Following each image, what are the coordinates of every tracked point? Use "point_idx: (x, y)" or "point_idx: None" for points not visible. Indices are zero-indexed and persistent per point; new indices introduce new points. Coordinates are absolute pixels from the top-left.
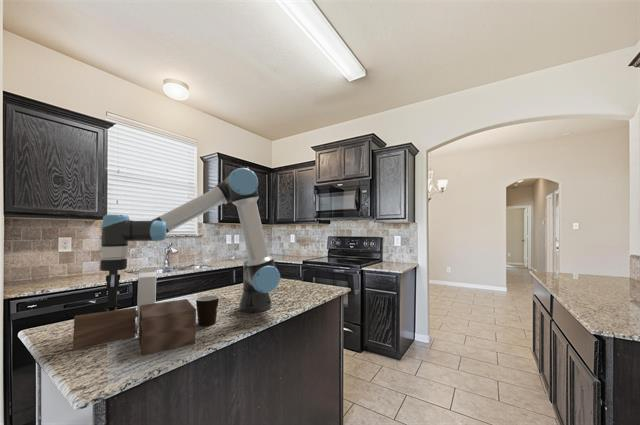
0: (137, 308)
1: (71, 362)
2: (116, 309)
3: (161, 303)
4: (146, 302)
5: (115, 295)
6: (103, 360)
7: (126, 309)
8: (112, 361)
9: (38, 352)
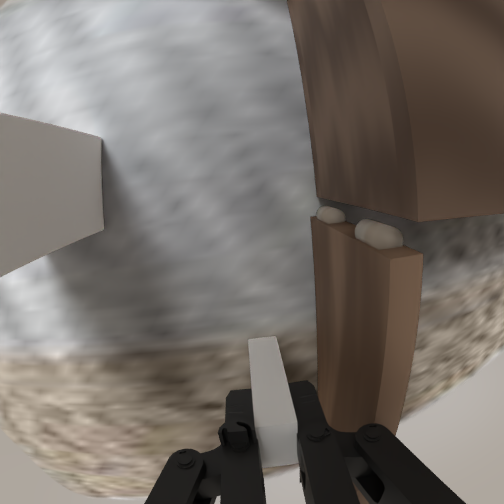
0: (45, 253)
1: (429, 376)
2: (293, 412)
3: (428, 15)
4: (12, 189)
5: (454, 502)
6: (474, 293)
7: (416, 332)
8: (493, 265)
9: (276, 473)
